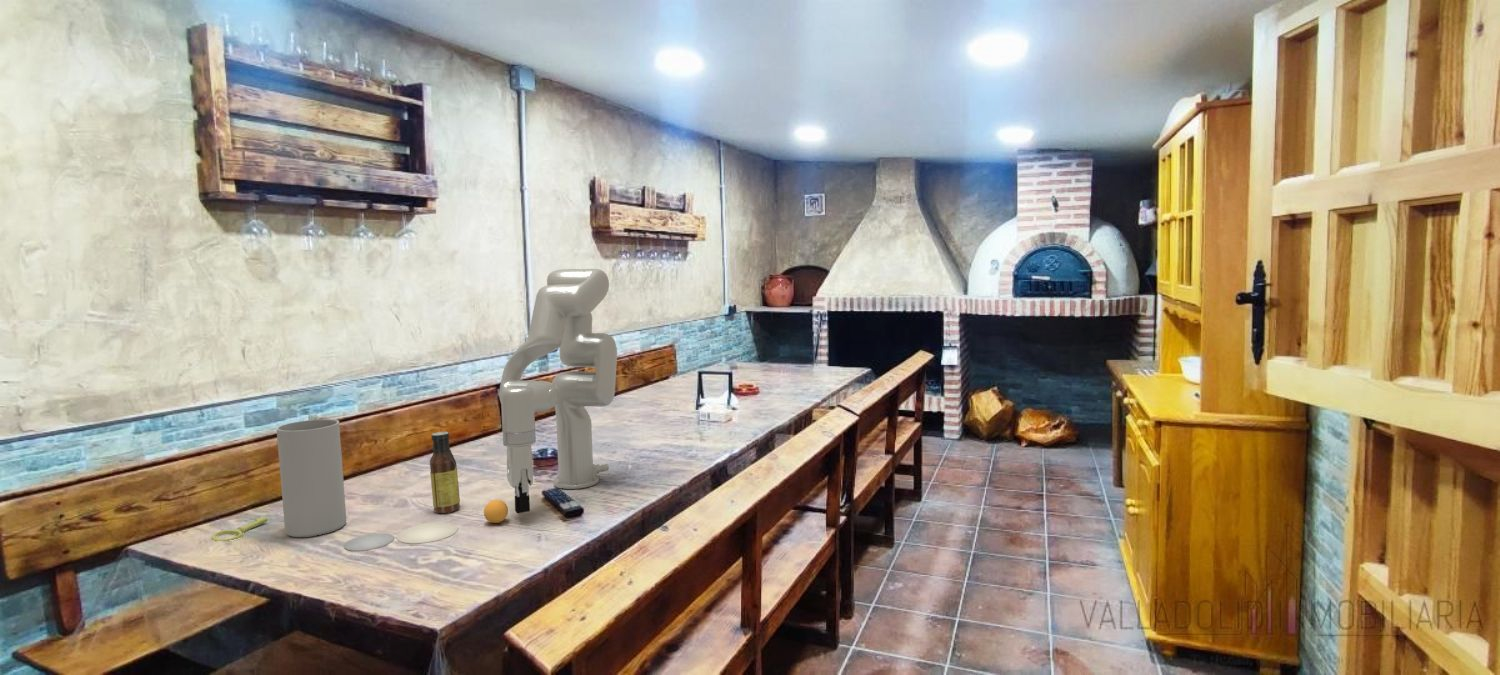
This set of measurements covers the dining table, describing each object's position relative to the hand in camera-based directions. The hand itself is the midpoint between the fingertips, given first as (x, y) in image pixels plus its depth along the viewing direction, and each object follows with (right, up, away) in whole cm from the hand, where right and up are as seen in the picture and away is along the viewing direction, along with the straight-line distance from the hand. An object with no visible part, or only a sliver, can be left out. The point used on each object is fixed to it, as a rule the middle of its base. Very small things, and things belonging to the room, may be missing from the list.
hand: (522, 511), depth 177 cm
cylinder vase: (-47, -3, -5) cm, 48 cm away
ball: (-5, +1, -3) cm, 6 cm away
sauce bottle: (-21, -2, +7) cm, 23 cm away
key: (-64, -4, -6) cm, 65 cm away
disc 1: (-30, -4, -14) cm, 33 cm away
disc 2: (-19, -3, -9) cm, 21 cm away
